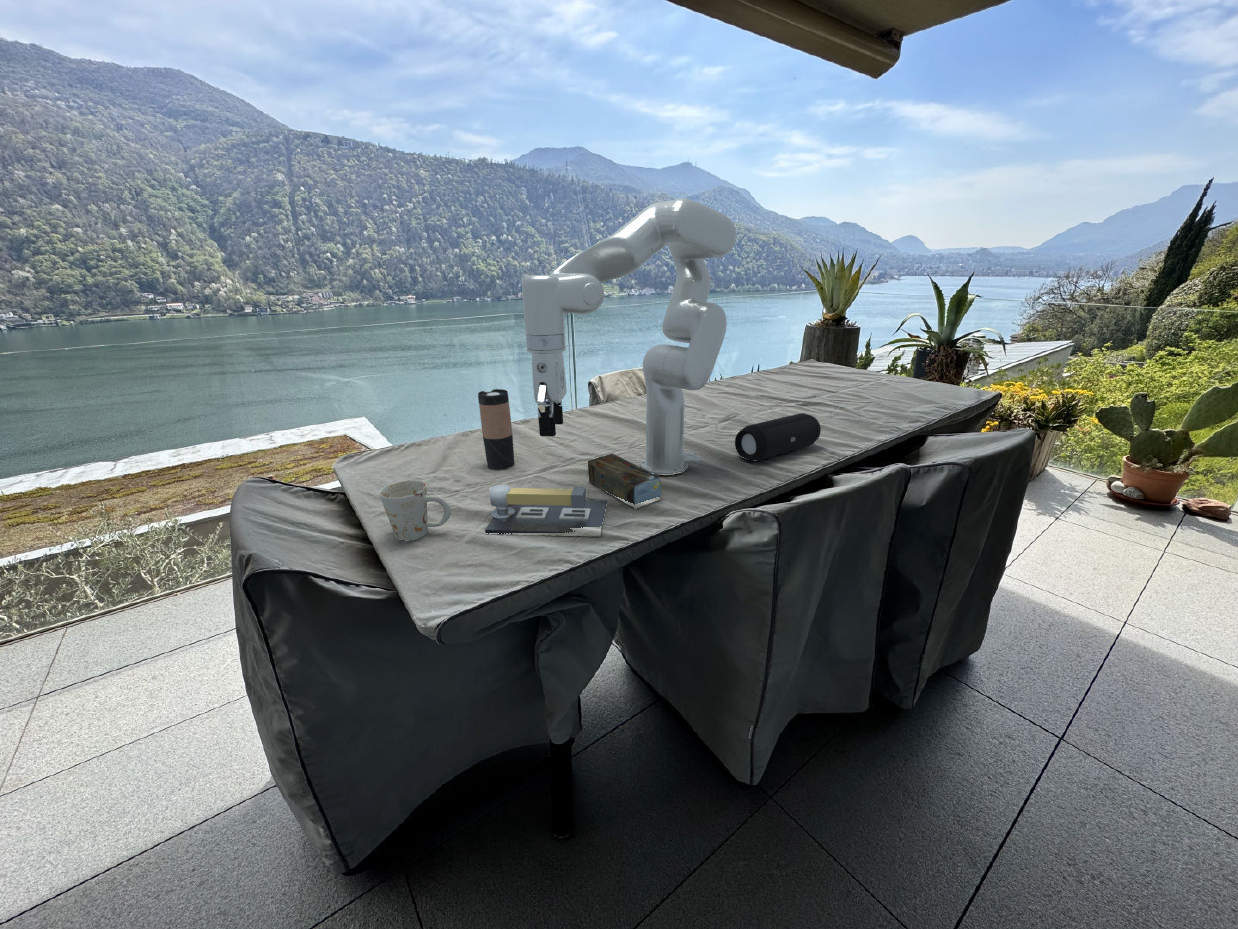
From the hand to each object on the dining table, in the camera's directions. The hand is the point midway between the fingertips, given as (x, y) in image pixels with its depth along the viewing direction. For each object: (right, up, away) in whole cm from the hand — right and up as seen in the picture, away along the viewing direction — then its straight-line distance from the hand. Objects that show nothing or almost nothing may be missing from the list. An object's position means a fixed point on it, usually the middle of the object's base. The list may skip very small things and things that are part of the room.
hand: (551, 429), depth 100 cm
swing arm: (-3, -15, 0) cm, 16 cm away
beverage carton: (+15, -14, +14) cm, 25 cm away
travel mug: (-18, -8, +30) cm, 36 cm away
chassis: (-1, -19, +1) cm, 19 cm away
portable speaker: (+59, -4, +36) cm, 69 cm away
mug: (-25, -21, -4) cm, 33 cm away
